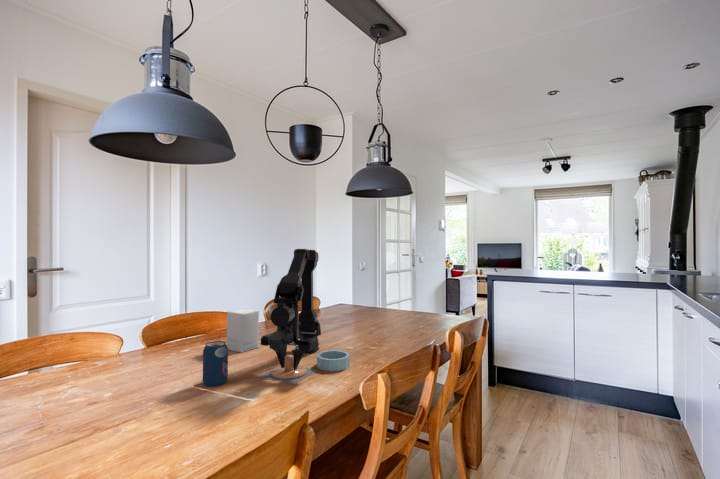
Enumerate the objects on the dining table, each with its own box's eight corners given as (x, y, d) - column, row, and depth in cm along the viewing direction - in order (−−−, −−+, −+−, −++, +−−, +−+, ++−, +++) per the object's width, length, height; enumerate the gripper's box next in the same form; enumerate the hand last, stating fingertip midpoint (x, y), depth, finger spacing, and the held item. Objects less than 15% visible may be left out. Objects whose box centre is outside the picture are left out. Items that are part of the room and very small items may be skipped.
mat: (256, 378, 115) (256, 377, 115) (283, 365, 128) (283, 364, 128) (294, 385, 109) (294, 384, 109) (319, 371, 122) (319, 369, 122)
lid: (263, 376, 116) (264, 358, 116) (284, 366, 126) (284, 349, 126) (293, 381, 111) (293, 363, 111) (312, 370, 121) (312, 353, 121)
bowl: (310, 369, 124) (310, 357, 124) (326, 360, 134) (327, 348, 134) (340, 374, 119) (340, 361, 119) (354, 364, 129) (354, 352, 129)
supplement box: (259, 347, 149) (259, 310, 150) (241, 353, 142) (241, 313, 142) (244, 344, 154) (244, 308, 154) (225, 349, 147) (226, 311, 147)
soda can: (229, 385, 109) (230, 344, 109) (204, 390, 105) (204, 347, 106) (225, 378, 115) (226, 339, 115) (201, 382, 111) (201, 342, 112)
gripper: (249, 321, 115) (248, 372, 115) (300, 327, 108) (299, 381, 107) (271, 315, 125) (271, 362, 125) (319, 320, 118) (319, 370, 117)
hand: (288, 368), depth 119 cm, fingers open, 4 cm apart
